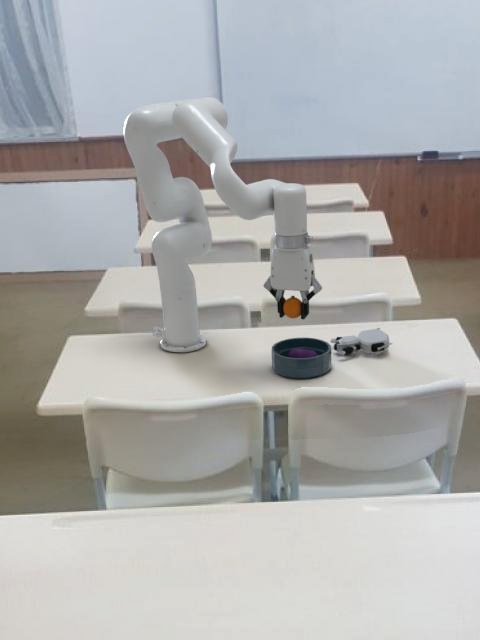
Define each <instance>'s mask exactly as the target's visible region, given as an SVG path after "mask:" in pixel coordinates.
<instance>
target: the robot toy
mask: <svg viewBox="0 0 480 640" xmlns="http://www.w3.org/2000/svg"><path fill="white" fill-rule="evenodd" d="M330 344H333V350H335V351H336V352H337V353H338V355H340V356H345V357H347V356H351V355H352V354H355V353H358V352H359V351H360V350H361V351H362V352H365V353H367V354H373V355H379V354H381V353H382V352H385V351H387V350H388V349H389V348H390V346H391V345H393V342H390V337H389V335H388V334H387V333H386V332H385V331H383V330H381V327H377V328H371V329H365V330H361V331H360V332H359V333H358V334H357V335H346V336H337V337H336V338H335V337H334V338H331V339H330Z"/></svg>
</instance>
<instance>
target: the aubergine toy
mask: <svg viewBox="0 0 480 640" xmlns="http://www.w3.org/2000/svg"><path fill="white" fill-rule="evenodd" d="M316 356H319V355H318V354H317V353H316V352H315V351H313V350H305V349H292V350H291V351H290V352H289V354H288V357H289V358H310V357H316Z"/></svg>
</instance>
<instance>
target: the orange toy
mask: <svg viewBox="0 0 480 640" xmlns="http://www.w3.org/2000/svg"><path fill="white" fill-rule="evenodd" d="M301 303H302V299H300V298H298V297H296V296H295V295H291V296H290V297H288V298H287V299H286V301H285V302H284V304H283V311H284V313H285V315H284V316H286V317H287V318H289V319H297V318H299V317H301Z"/></svg>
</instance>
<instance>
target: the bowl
mask: <svg viewBox="0 0 480 640" xmlns="http://www.w3.org/2000/svg"><path fill="white" fill-rule="evenodd" d="M292 349H305V350H313V351H315V352H316V353H317V354H318V355H319V356H316V357H310V358H289V357H288V354H289V352H290V351H291V350H292ZM271 368H272V370H273V371H274V373H276V374H278V375H280V376H281V377H285V378H289V379H299V380H302V379H303V380H304V379H312V378H317V377H320V376H322V375H324V374H325V373H327V372H329V371H330V370H331V368H332V345H331V343H329V342H328V341H325V340H323V339H320V338H314V337H292V338H286V339H282V340H280V341H277V342H276V343H274V344H273V345H272V346H271Z"/></svg>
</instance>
